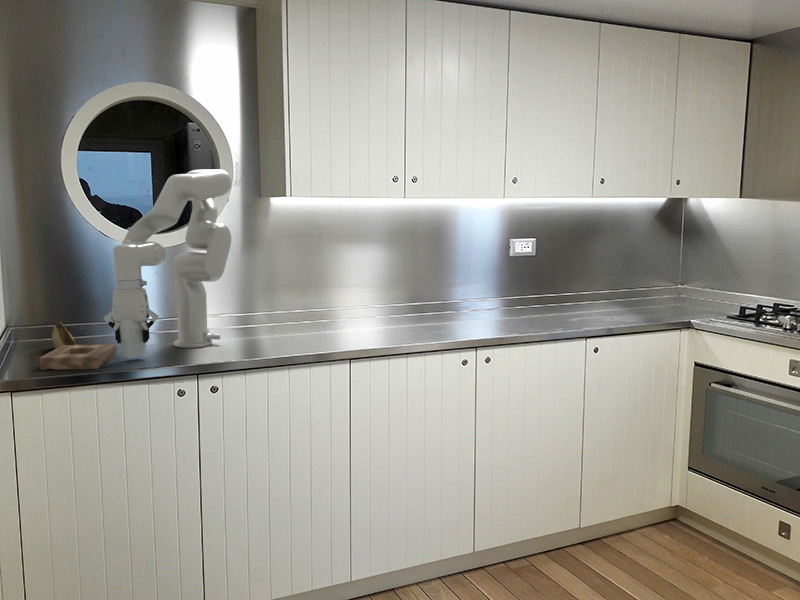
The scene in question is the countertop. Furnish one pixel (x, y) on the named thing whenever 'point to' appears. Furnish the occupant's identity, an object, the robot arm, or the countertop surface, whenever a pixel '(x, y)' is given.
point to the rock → (61, 336)
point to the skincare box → (131, 338)
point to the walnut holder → (78, 357)
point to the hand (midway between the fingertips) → (132, 341)
